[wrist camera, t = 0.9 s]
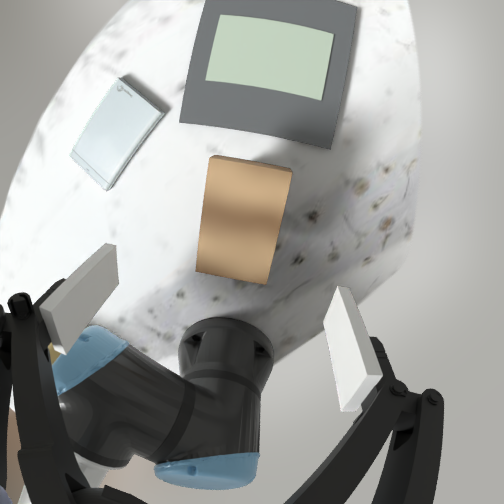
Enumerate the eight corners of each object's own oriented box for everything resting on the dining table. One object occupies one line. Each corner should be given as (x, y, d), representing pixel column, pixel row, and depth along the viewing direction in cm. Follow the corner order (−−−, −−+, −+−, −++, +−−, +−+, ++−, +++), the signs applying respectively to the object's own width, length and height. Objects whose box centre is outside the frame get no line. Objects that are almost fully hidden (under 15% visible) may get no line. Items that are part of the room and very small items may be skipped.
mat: (329, 149, 29) (330, 149, 28) (181, 122, 28) (178, 122, 28) (355, 9, 21) (357, 6, 20) (212, -16, 20) (211, -19, 19)
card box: (266, 272, 29) (266, 284, 27) (200, 259, 29) (195, 271, 27) (290, 168, 25) (292, 172, 22) (214, 154, 24) (209, 157, 22)
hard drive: (117, 76, 25) (67, 155, 29) (162, 113, 27) (105, 192, 31) (123, 78, 26) (74, 153, 31) (166, 113, 29) (111, 189, 33)
